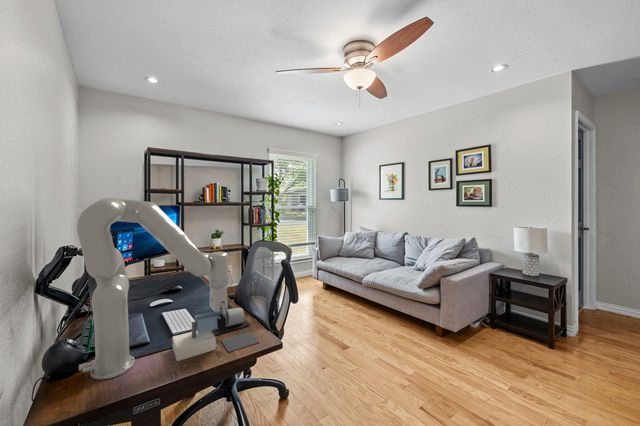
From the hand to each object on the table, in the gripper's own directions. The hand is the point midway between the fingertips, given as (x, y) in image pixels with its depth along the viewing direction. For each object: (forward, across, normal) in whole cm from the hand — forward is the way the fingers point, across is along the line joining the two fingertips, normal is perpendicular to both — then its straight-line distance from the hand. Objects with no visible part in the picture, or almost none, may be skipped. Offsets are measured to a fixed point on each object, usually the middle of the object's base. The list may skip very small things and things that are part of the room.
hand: (219, 323), depth 116 cm
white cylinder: (+8, -14, +10) cm, 19 cm away
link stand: (+8, 0, -10) cm, 13 cm away
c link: (0, 0, -3) cm, 3 cm away
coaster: (+8, +5, +7) cm, 12 cm away
